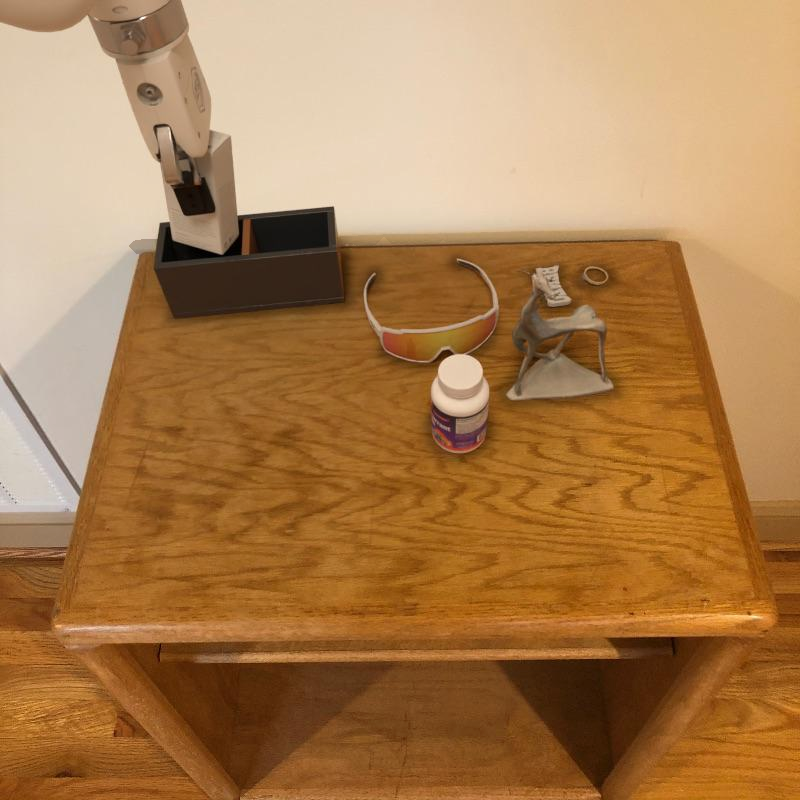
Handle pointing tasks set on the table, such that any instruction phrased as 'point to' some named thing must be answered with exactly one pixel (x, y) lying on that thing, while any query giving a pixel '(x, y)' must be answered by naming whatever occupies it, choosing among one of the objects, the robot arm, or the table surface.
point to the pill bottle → (459, 404)
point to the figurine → (555, 351)
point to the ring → (594, 281)
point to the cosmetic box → (223, 223)
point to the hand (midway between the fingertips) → (201, 187)
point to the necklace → (553, 286)
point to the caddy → (255, 266)
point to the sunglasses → (437, 332)
